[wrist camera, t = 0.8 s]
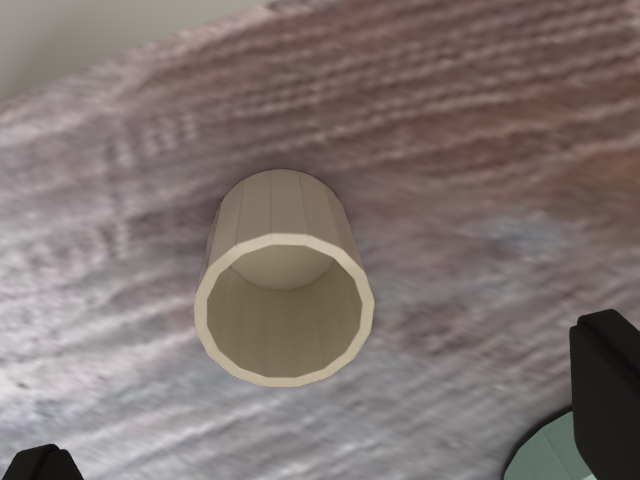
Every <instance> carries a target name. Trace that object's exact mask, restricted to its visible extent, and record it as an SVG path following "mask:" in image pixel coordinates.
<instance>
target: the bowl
mask: <svg viewBox="0 0 640 480" xmlns="http://www.w3.org/2000/svg"><path fill="white" fill-rule="evenodd" d="M504 480H597V479H596V478H595V476H594V475H593V474H592V472H591V471H590V469H589V468H588V466H587V465H586V463H585V462H584V460H583V459H582V457H581V456H580V454H579V452H578V450H577V447H576V444H575V440H574V428H573V411H571V412H568V413H567V414H565V415H563V416H561V417H560V418H558V419H556V420H554V421H553V422H551V423H549V424H547V425H546V426H544V427H542V429H540V430H539V431H538V432H537V433H535V434H534V435H533V436H532V437H531V438H530V439H529V440H528V441H527V442H526V443H525V444H524V445H523V446H522V447H521V448H520V449H519V450H518V451H517V453H516V455H515V456H514V458H513V460H512V461H511V463H510V465H509V467H508V468H507V470H506V472H505V475H504Z"/></svg>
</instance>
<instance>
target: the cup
mask: <svg viewBox="0 0 640 480" xmlns="http://www.w3.org/2000/svg"><path fill="white" fill-rule="evenodd" d="M374 305H375V302H374V297H373V294H372V291H371V288H370V285H369V282H368V279H367V276H366V273H365V270H364V267H363V264H362V261H361V258H360V255H359V252H358V249H357V246H356V243H355V240H354V237H353V234H352V231H351V228H350V225H349V222H348V219H347V216H346V213H345V210H344V207H343V205H342V204H341V202H340V201H339V199H338V197H337V196H336V195H335V194H334V192H333V191H332V190H331V189H330V188H329V187H328V186H327V185H325V184H324V183H323V182H321V181H320V180H318V179H316V178H314V177H313V176H311V175H308V174H305V173H303V172H299V171H295V170H287V169H275V170H268V171H263V172H260V173H256V174H254V175H252V176H249V177H247V178H246V179H244V180H242V181H241V182H239V183H238V184H237V185H235V186H234V187H233V188H232V189H231V190H230V191H229V192H228V193H227V194H226V196H225V197H224V198H223V200H222V202H221V203H220V205H219V207H218V209H217V212H216V215H215V218H214V220H213V222H212V226H211V230H210V234H209V238H208V242H207V246H206V250H205V255H204V259H203V263H202V267H201V271H200V275H199V279H198V283H197V287H196V292H195V296H194V327H195V330H196V332H197V334H198V336H199V338H200V340H201V342H202V344H203V346H204V348H205V350H206V352H207V354H208V355H209V356H210V357H211V358H212V359H213V360H214V361H215V362H217V363H218V364H219V365H220V366H221V367H223V368H224V369H225V370H226V371H228V372H229V373H230V374H231V375H233V376H234V377H237V378H240V379H243V380H246V381H249V382H252V383H255V384H258V385H260V386H265V387H297V386H298V387H299V386H302V385H305V384H309V383H312V382H315V381H318V380H321V379H324V378H327V377H328V376H331V375H332V374H334V373H335V372H336V371H338V370H339V369H340V368H342V367H343V366H344V365H346V364H347V363H348V362H350V361H351V360H352V359H354V357H355V356H356V355H357V353H358V351H359V350H360V348H361V347H362V345H363V343H364V342H365V340H366V339H367V337H368V335H369V334H370V331H371V327H372V320H373V312H374Z"/></svg>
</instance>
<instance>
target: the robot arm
mask: <svg viewBox="0 0 640 480" xmlns="http://www.w3.org/2000/svg"><path fill="white" fill-rule="evenodd" d="M569 336H570V359H571V382H572V405H573V428H574V440H575V444H576V447H577V450H578V452H579V454H580V456H581V457H582V459H583V460H584V462H585V463H586V465H587V466H588V468H589V469H590V471H591V472H592V474H593V475H594V476H595V478H596V479H597V480H640V331H638V330H637V329H636V328H635V327H634V326H633V325H632V324H631V323H630V322H628V321H627V320H626V319H625V318H624V317H623V316H622V315H621V314H619V313H618V312H617V311H615V310H614V309H608V310H604V311H599V312H595V313H591V314H587V315H583V316H580V317H579V318H578V321H577V325H576V326H572V327H571V328H570V333H569ZM2 480H84V479H83V477H82V475H81V473H80V471H79V470H78V468H77V466H76V464H75V462H74V461H73V459H72V457H71V455H70V454H69V452H68V451H67V450H65V449H61V450H60V449H59V448H58V446H56V445H55V444H47V445H43V446H39V447H35V448H31V449H27V450H22V451H20V452H18V453H17V454H16V456H15V457H14V458H13V460H12V462H11V464H10V466H9V468H8V469H7V471H6V473H5V475H4V477H3V479H2Z"/></svg>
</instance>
